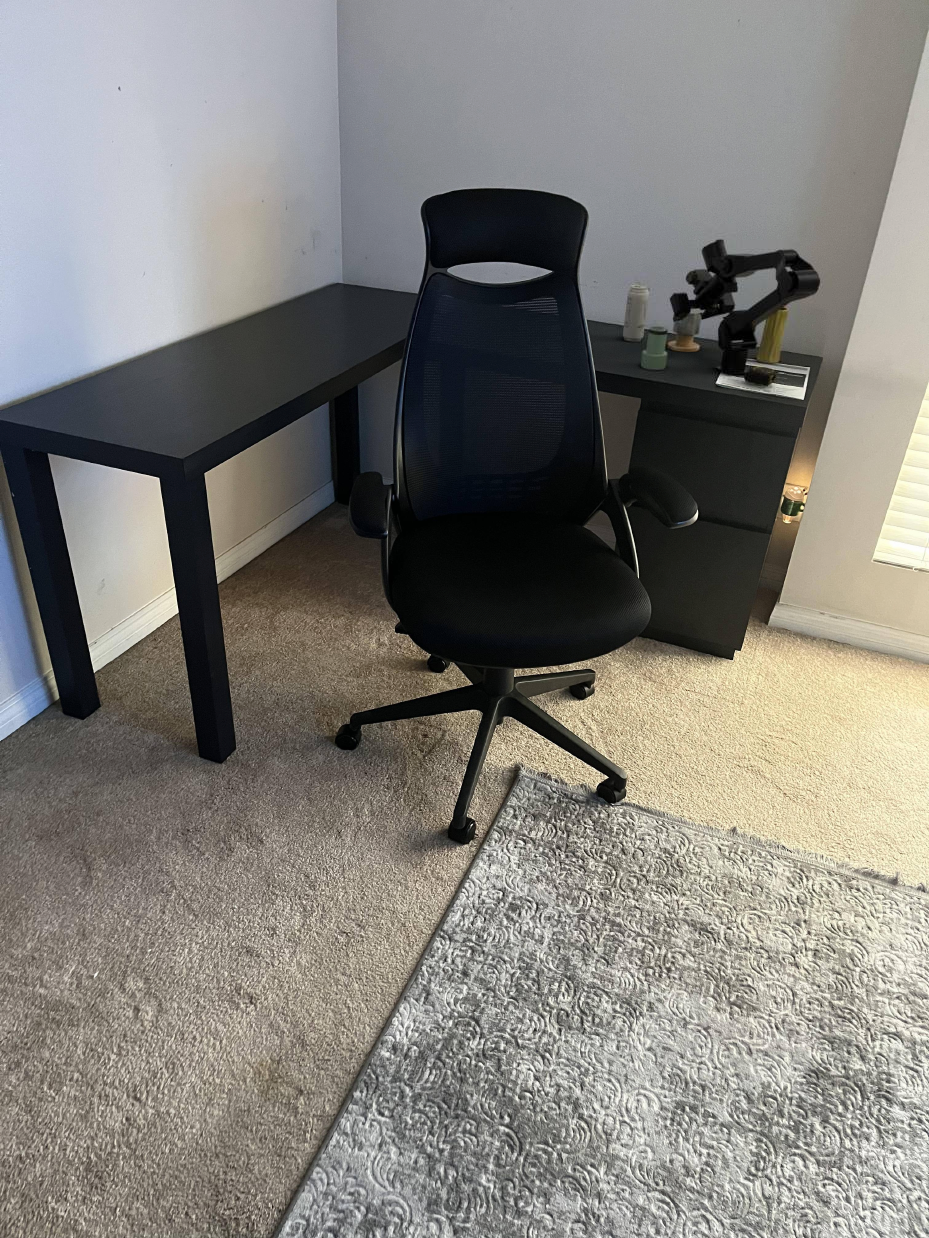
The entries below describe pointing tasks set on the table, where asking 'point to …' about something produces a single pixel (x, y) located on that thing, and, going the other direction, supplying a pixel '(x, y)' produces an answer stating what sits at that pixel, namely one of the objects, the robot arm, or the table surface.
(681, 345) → the peg
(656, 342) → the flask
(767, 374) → the tape measure
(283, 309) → the table surface
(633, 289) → the energy drink can
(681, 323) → the cap
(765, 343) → the vase
